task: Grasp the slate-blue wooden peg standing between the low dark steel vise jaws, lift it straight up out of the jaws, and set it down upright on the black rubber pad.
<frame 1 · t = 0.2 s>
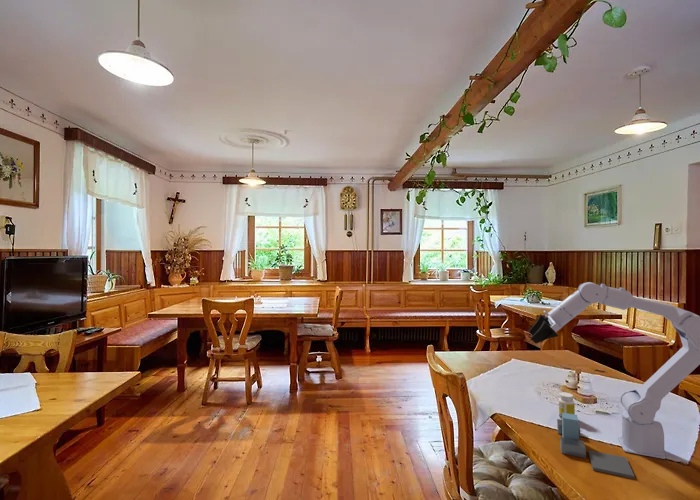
hand: (532, 337, 118), 31 cm above the table, tool tilted 45°, fingers open, 7 cm apart
supplement bottle: (566, 418, 126), on the table
pad: (609, 465, 99), on the table
vise: (570, 442, 111), on the table
peg: (570, 442, 111), on the table
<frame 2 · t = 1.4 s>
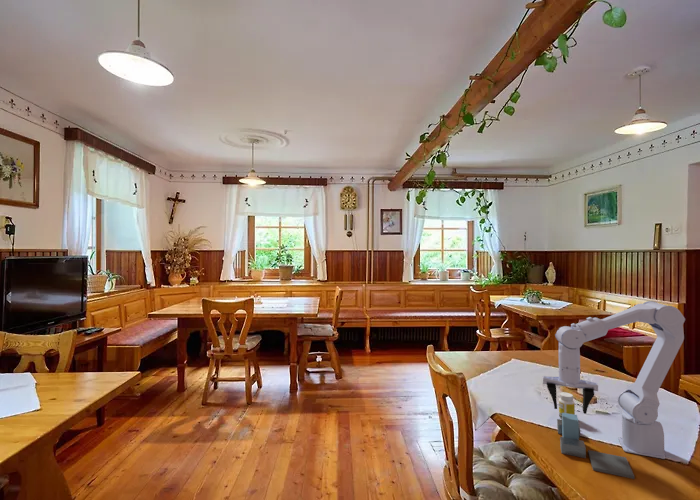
hand: (569, 409, 111), 10 cm above the table, tool pointing down, fingers open, 7 cm apart
nothing on the table moved.
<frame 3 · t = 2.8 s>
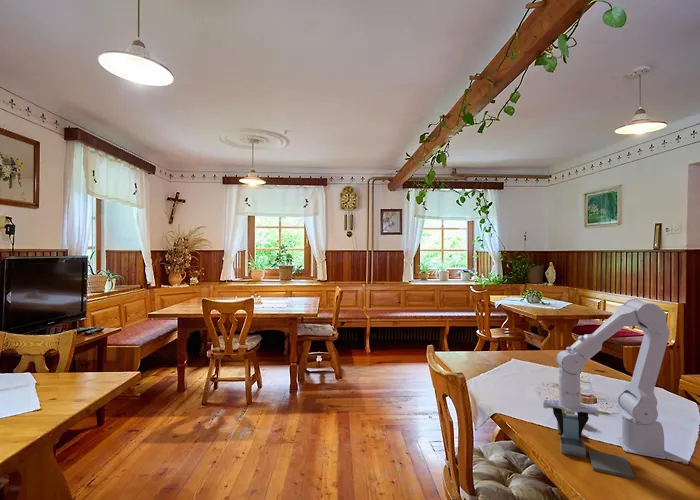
hand: (570, 434, 111), 2 cm above the table, tool pointing down, fingers closed on peg, 4 cm apart
peg: (570, 442, 111), on the table, touching gripper
everything else where it was.
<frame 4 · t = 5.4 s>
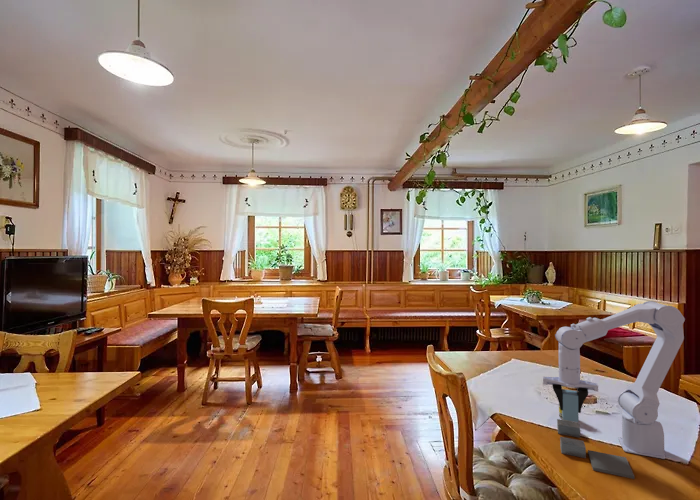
hand: (569, 410, 111), 10 cm above the table, tool pointing down, fingers closed on peg, 4 cm apart
peg: (570, 418, 111), point 7 cm above the table, touching gripper
everything else where it was.
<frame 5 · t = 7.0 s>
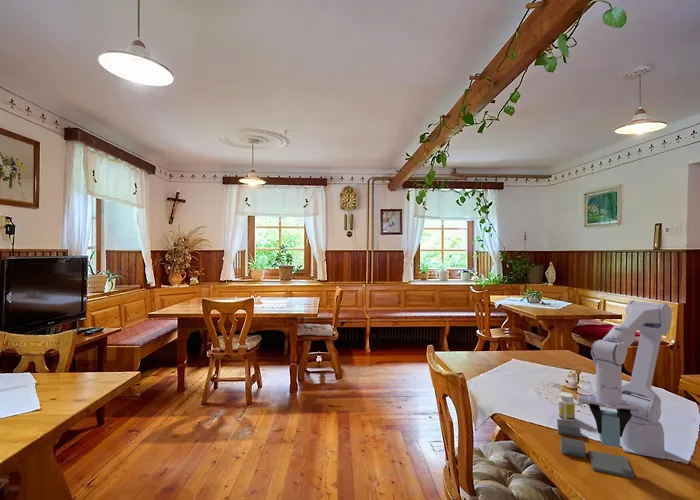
hand: (609, 433, 99), 9 cm above the table, tool pointing down, fingers closed on peg, 4 cm apart
peg: (609, 442, 99), point 6 cm above the table, touching gripper
everything else where it was.
when the fingers open (5 cm above the table, at t = 8.2 s): peg drops 1 cm, resting on pad.
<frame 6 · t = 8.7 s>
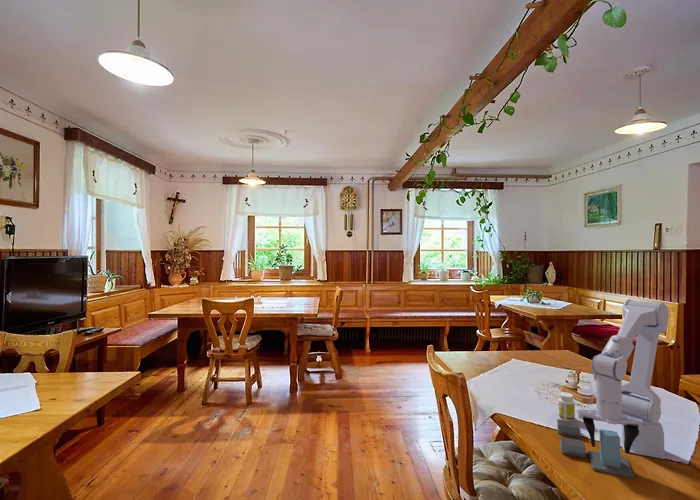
hand: (609, 448, 99), 5 cm above the table, tool pointing down, fingers open, 7 cm apart
peg: (609, 462, 99), point 1 cm above the table, touching pad
everything else where it was.
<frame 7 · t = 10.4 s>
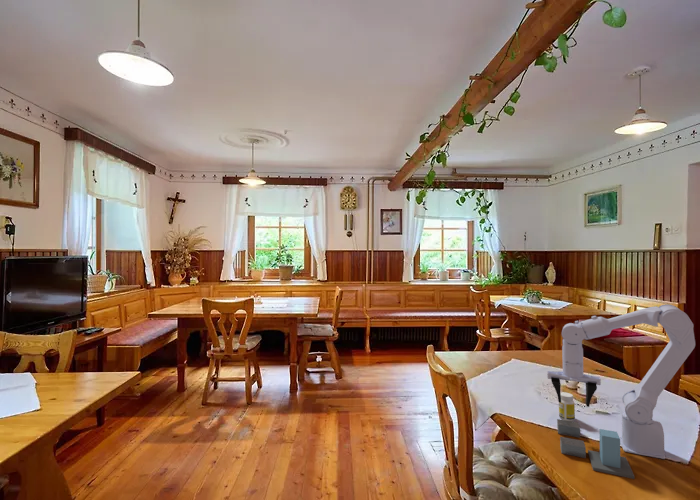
hand: (573, 403, 116), 10 cm above the table, tool pointing down, fingers open, 7 cm apart
nothing on the table moved.
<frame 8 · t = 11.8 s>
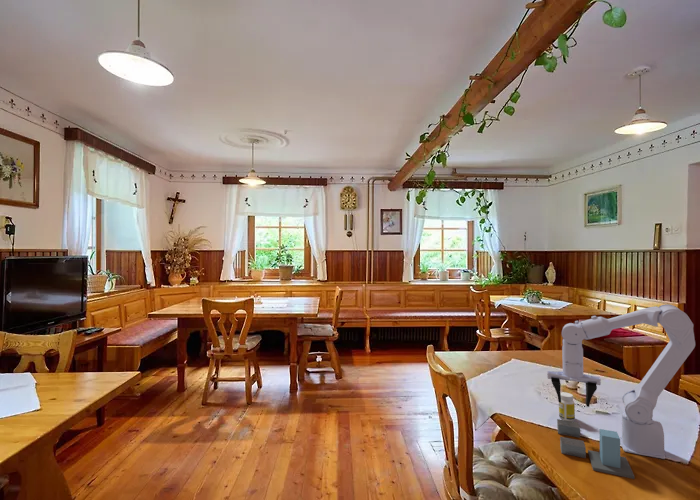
hand: (573, 403, 116), 10 cm above the table, tool pointing down, fingers open, 7 cm apart
nothing on the table moved.
at the end: peg 0.1 cm off-centre on the pad, point 0.8 cm above the pad's base; peg tilted 0°; the gripper is holding nothing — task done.
